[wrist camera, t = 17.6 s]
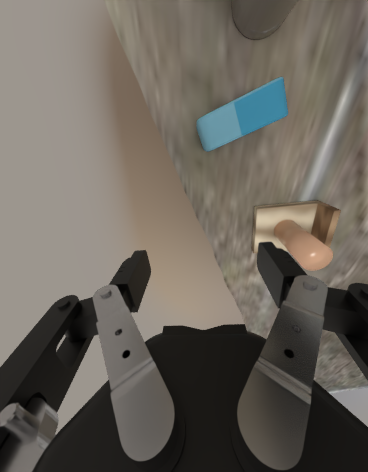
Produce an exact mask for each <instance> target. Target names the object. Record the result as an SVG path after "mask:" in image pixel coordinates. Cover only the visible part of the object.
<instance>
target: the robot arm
mask: <svg viewBox="0 0 368 472" xmlns="http://www.w3.org/2000/svg"><path fill="white" fill-rule="evenodd" d="M297 2H298V0H232V14H233V18H234V21H235V24H236V26H237V28H238V30H239V31H240V32H241V33H242V34H243V35H244V36H246V37H247V38H250V39H262V38H265V37H267V36H269V35H271V34H272V33H273V32H275V31H276V30H277V29H278V28H279V27H280V25H281V24H282V23H283V21H284V20H285V19H286V17H287V16H288V14H289V13H290V11H291V10H292V9H293V7H294V6H295V4H296V3H297ZM257 267H258V270H259V272H260V274H261V276H262V278H263V280H264V282H265V284H266V286H267V288H268V290H269V292H270V294H271V296H272V298H273V299H274V301H275V303H276V305H277V307H278V308H280V310H279V312H278V315H277V317H276V319H275V322H274V324H273V326H272V329H271V331H270V333H269V336H268V338H267V340H266V339H265V338H263V337H261V336H259V335H257V334H254V333H251V332H248V331H247V330H246V327H245V324H240V325H239V324H237V325H236V324H235V325H221V326H218V327H214V328H211V329H207V330H200V329H195V328H191V327H187V326H164V327H163V333H160V334H158V335H155V336H153V337H152V338H150V339H149V340H147V341H146V342H144V340H143V338H142V336H141V334H140V332H139V330H138V328H137V325H136V323H135V321H134V319H133V317H132V315H131V312H138V309H139V306H140V303H141V301H142V298H143V295H144V292H145V289H146V286H147V283H148V281H149V278H150V275H151V268H150V264H149V260H148V256H147V252H146V250H141V251H135V252H134V253H133V255H132V257H131V258H128V259H126V260H125V261H124V262H123V263H122V265H121V266H120V268H119V270H118V272H117V273H116V274H115V276H114V277H113V279H112V281H111V282H110V284H109V285H107V286H104V287H102V288H100V289H99V290H97V291H96V292H95V294H94V296H93V297H91V298H88V299H84V300H81V301H79V299H78V297H77V296H75V295H69V296H66V297H64V298H62V299H60V300H58V301H57V302H55V303H54V304H53V305H52V306H51V308H50V309H49V310H48V311H47V312H46V314H45V315H44V316H43V317H42V318H41V320H40V321H39V322H38V323H37V324H36V325H35V327H34V328H33V329H32V330H31V331H30V333H29V334H28V335H27V336H26V337H25V339H24V340H23V341H22V342H21V343H20V344H19V346H18V347H17V348H16V349H15V350H14V352H13V353H12V354H11V355H10V356H9V358H8V359H7V360H6V361H5V362H4V364H3V365H2V366H1V367H0V472H368V427H367V426H366V425H365V424H364V423H363V422H361V421H360V420H359V419H358V418H357V417H356V416H354V415H353V414H352V413H351V412H350V411H349V410H348V409H346V408H345V407H344V406H343V405H342V404H341V403H339V402H338V401H337V400H336V399H335V398H334V397H333V396H332V395H330V394H329V393H328V392H327V391H326V390H325V389H324V388H322V387H321V386H320V385H319V384H318V383H317V382H315V381H314V380H313V379H314V374H315V368H316V362H317V357H318V351H319V345H320V340H321V334H322V329H323V330H327V331H332V332H335V333H336V335H337V336H338V338H339V339H340V340H341V342H342V343H343V345H344V346H345V348H346V349H347V351H348V352H349V354H350V355H351V357H352V358H353V360H354V361H355V362H356V364H357V365H358V367H359V368H360V370H361V371H362V373H363V374H364V376H365V377H366V379H367V380H368V285H367V284H362V283H354V284H351V285H349V287H348V289H347V290H341V289H335V288H329V287H327V285H326V284H325V283H324V282H323V281H321V280H320V279H318V278H315V277H312V276H308V275H307V274H306V273H305V272H304V271H303V269H302V268H301V267H300V266H299V265H298V264H297V263H296V262H295V260H294V259H293V258H292V257H291V256H290V255H289V253H288V252H286V251H285V250H283V249H281V248H276V246H275V245H274V244H273V243H272V242H259V245H258V255H257ZM64 334H65V335H66V338H65V339H64V341H63V343H62V344H61V346H60V347H59V349H58V350H57V352H56V348H57V345H58V344H59V342H60V340H61V339H62V337H63V335H64ZM98 334H99V338H100V342H101V347H102V351H103V356H104V360H105V365H106V369H107V373H108V378H109V380H108V381H107V382H106V383H105V384H104V385H103V386H102V387H101V388H100V389H99V390H98V391H97V392H96V393H95V395H94V396H93V397H92V398H91V399H90V400H89V401H88V402H87V403H86V404H85V405H84V406H83V407H82V408H81V409H80V410H79V411H78V412H77V414H76V415H75V416H74V417H73V418H72V419H71V420H70V421H69V422H68V423H67V424H66V425H65V426H64V427H63V428H62V429H61V430H60V431H59V432H58V434H57V435H55V432H56V429H57V426H58V414H57V411H58V409H59V407H60V405H61V403H62V401H63V399H64V397H65V395H66V393H67V391H68V389H69V387H70V384H71V382H72V380H73V378H74V376H75V374H76V372H77V370H78V368H79V366H80V364H81V362H82V360H83V358H84V355H85V353H86V351H87V349H88V347H89V345H90V343H91V341H92V339H93V337H94V335H98Z"/></svg>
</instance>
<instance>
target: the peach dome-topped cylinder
mask: <svg viewBox="0 0 368 472" xmlns="http://www.w3.org/2000/svg"><path fill="white" fill-rule="evenodd" d="M274 235H275V236H276V238H277V239H278V240H279V241H280V242H281V243H282V244H283V245H284V247H285V248H286V249H287V250H288V251H289V252H290V253H291V254H292V256H293V257H294V258H295V259H296V260H297V261H298V262H299V263H300V264H301V266H302V267H303V268H305V269H307V270H319V269H322V268H324V267H325V266H327V265H328V264H329V263H330V262H331V260H332V258H333V252H332V250H331V249H330V248H329V247H327V246H326V245H325V244H323V243H322V242H321V241H319V240H318V239H317V238H315V237H314V236H313V235H311V234H310V233H309V232H307V231H306V230H305V229H304V228H302V227H301V226H300V225H298V224H297V223H296V222H294V221H293V220H283V221H281V222H279V223H278V224H277V225H276V226H275V228H274Z"/></svg>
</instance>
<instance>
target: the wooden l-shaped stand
mask: <svg viewBox="0 0 368 472" xmlns="http://www.w3.org/2000/svg"><path fill="white" fill-rule="evenodd" d="M340 212H341V210H339V209H337V208H334V207H332V206H330V205H328V204H325V203H323V202H321V201H318V200H317V201H306V202H295V203H284V204H273V205H262V206H255V208H254V223H253V237H252V251H253V253H258V245H259V242H272V243H273V244H274V245H275V246H276V248H281V249H283V250H285V251H288V250H287V249H286V248H285V247H284V245H283V244H282V243H281V242H280V241H279V240H278V239H277V238H276V236H275V235H274V228H275V226H276V225H277V224H278V223H279V222H281V221H283V220H293V221H294V222H296V223H297V224H298V225H300V226H301V227H302V228H304V229H305V230H306V231H307V232H309V233H310V234H311V235H313V236H314V237H315V238H317V239H318V240H319V241H321V242H322V243H323V244H325V245H326V246H327V247H329V248H330V245H331V241H332V238H333V235H334V231H335V228H336V225H337V222H338V218H339V215H340Z"/></svg>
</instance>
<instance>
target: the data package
mask: <svg viewBox="0 0 368 472" xmlns="http://www.w3.org/2000/svg"><path fill="white" fill-rule="evenodd" d="M287 115H288V109H287V101H286V94H285V87H284V79H283V77H279V78H276V79H274V80H272V81H270V82H268V83H266V84H264V85H263V86H261V87H259V88H257V89H255V90H253V91H251V92H249V93H247V94H245V95H243V96H241V97H239V98H237V99H235V100H233V101H231V102H229V103H227V104H225V105H223V106H221V107H220V108H218V109H216V110H214V111H212V112H210V113H208V114H206V115H204V116H202V117H201V118H199V119H198V120H197V131H198V134H199V137H200V140H201V143H202V146H203V149H204V150H205V151H207V152H208V151H211V150H214V149H216V148H218V147H220V146H222V145H225V144H227V143H229V142H231V141H233V140H236V139H238V138H240V137H242V136H244V135H247V134H249V133H251V132H253V131H255V130H257V129H260V128H262V127H264V126H266V125H268V124H271V123H273V122H275V121H277V120H279V119H281V118H283V117H285V116H287Z"/></svg>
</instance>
